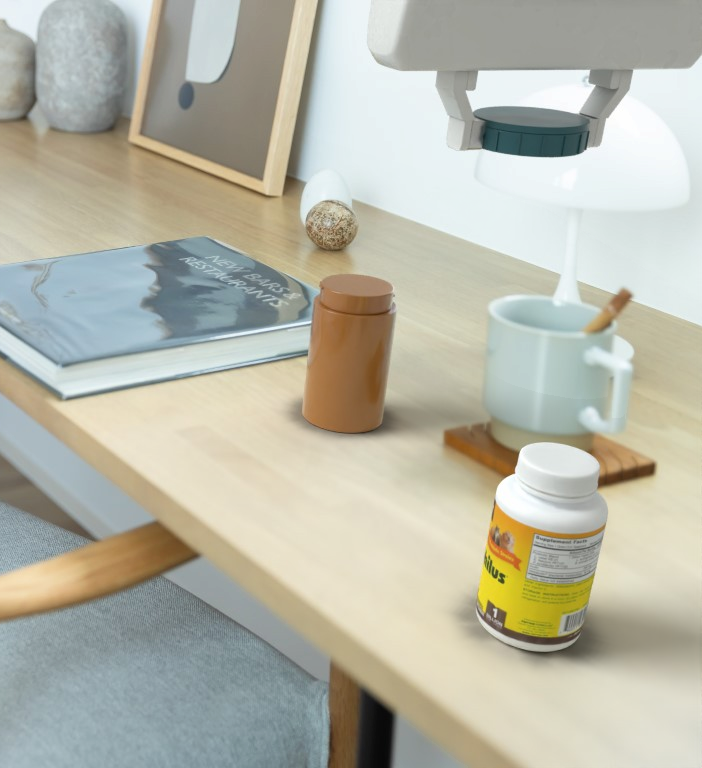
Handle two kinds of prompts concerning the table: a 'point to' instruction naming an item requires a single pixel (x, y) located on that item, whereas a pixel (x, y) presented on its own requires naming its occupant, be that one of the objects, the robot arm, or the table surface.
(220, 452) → the table surface
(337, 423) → the jar
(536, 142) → the lid
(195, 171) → the table surface
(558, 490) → the supplement bottle
